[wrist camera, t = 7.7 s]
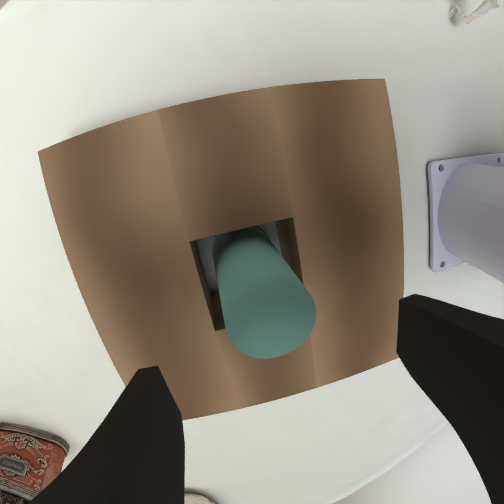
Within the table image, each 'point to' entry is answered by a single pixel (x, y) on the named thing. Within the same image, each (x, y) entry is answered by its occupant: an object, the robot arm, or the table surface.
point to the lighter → (28, 461)
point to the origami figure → (489, 3)
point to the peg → (260, 295)
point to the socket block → (230, 219)
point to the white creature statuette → (196, 499)
